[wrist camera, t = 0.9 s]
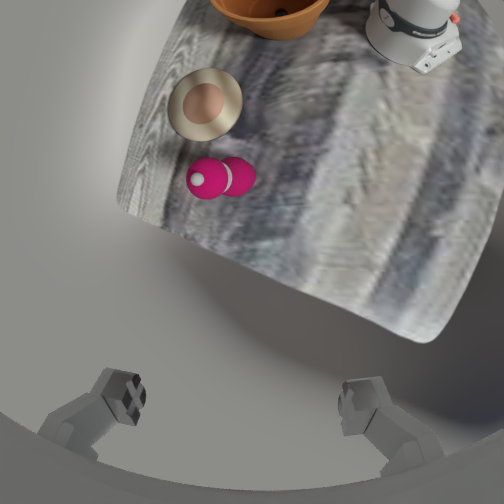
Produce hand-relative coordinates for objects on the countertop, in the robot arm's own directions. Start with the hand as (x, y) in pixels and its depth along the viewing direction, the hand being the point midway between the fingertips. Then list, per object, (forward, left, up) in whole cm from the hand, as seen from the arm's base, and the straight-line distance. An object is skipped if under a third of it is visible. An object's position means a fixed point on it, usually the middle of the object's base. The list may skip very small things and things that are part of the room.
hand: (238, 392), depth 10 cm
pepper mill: (+8, -13, -45) cm, 48 cm away
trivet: (+7, -30, -45) cm, 54 cm away
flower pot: (-17, -40, -45) cm, 62 cm away
